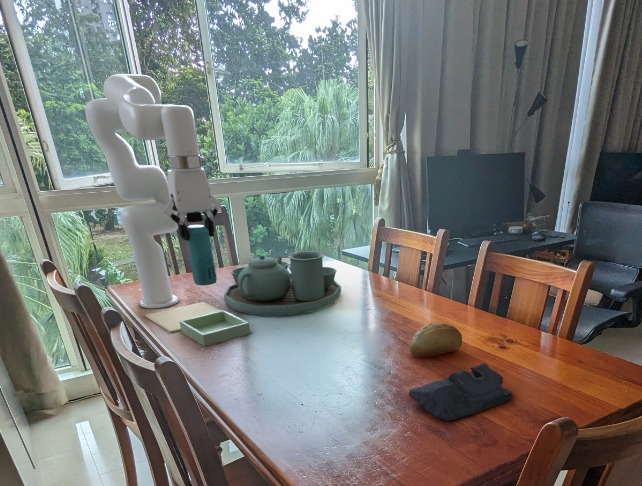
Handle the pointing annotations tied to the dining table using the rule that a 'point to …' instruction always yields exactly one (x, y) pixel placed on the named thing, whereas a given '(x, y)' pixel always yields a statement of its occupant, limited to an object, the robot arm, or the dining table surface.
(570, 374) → the dining table surface
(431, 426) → the dining table surface
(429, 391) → the folded black shirt
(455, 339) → the bread roll
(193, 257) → the beverage bottle
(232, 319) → the tray
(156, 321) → the mat
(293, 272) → the tea set
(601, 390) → the dining table surface
